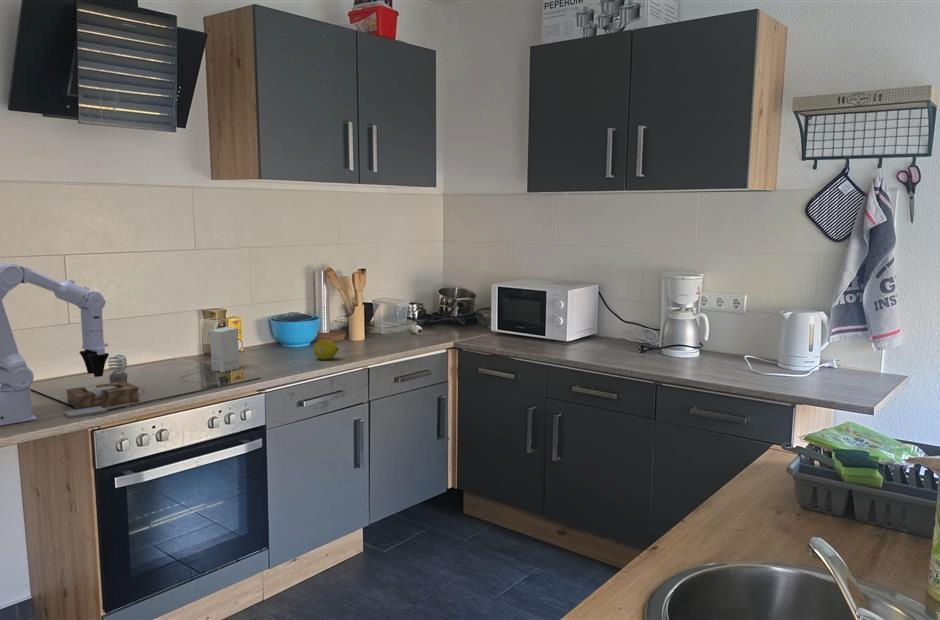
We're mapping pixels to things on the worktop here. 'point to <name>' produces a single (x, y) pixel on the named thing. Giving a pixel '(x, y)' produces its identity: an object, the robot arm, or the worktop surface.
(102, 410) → the slate mat
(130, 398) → the pocket board
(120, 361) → the light bulb
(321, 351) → the lemon
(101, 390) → the aluminium tile
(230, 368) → the skincare box
